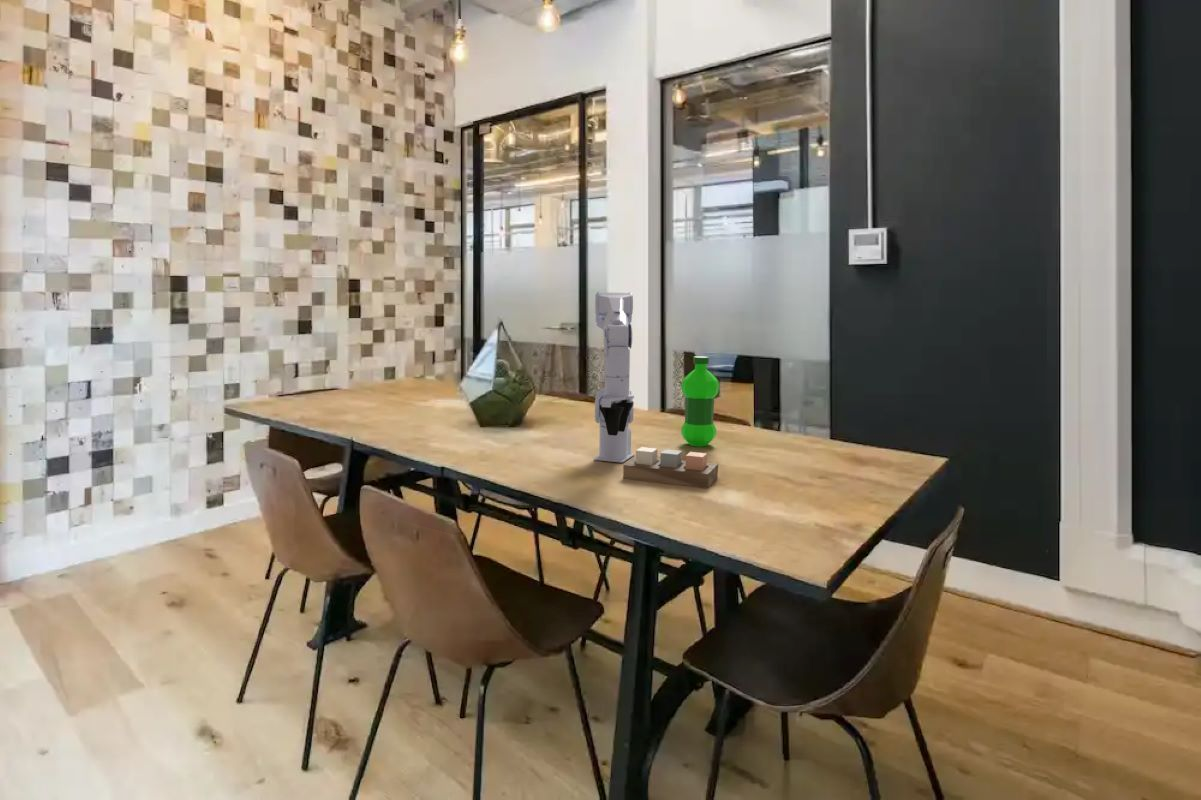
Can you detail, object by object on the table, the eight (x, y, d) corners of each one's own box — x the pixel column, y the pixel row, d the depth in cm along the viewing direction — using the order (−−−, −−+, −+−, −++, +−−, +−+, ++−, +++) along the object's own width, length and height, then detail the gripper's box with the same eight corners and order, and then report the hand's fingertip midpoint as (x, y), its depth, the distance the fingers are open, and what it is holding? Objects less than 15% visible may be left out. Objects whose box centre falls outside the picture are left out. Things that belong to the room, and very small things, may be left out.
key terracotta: (689, 466, 167) (690, 451, 166) (706, 468, 165) (707, 453, 165) (685, 470, 163) (685, 455, 163) (702, 472, 162) (702, 457, 161)
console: (637, 468, 175) (637, 455, 175) (717, 477, 168) (718, 464, 167) (623, 478, 166) (623, 464, 165) (707, 488, 159) (708, 474, 158)
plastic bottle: (724, 446, 201) (727, 357, 197) (694, 449, 196) (697, 359, 192) (702, 439, 210) (704, 354, 206) (672, 442, 204) (675, 356, 201)
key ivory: (641, 461, 171) (641, 447, 171) (657, 463, 170) (657, 448, 169) (635, 465, 168) (636, 450, 167) (651, 467, 166) (652, 452, 165)
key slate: (665, 464, 169) (665, 449, 168) (681, 465, 167) (681, 451, 167) (660, 468, 165) (660, 452, 165) (676, 469, 164) (677, 454, 163)
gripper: (622, 380, 158) (621, 440, 160) (643, 373, 171) (642, 429, 173) (593, 378, 161) (592, 437, 163) (615, 372, 174) (615, 426, 176)
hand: (616, 433), depth 168 cm, fingers open, 4 cm apart
